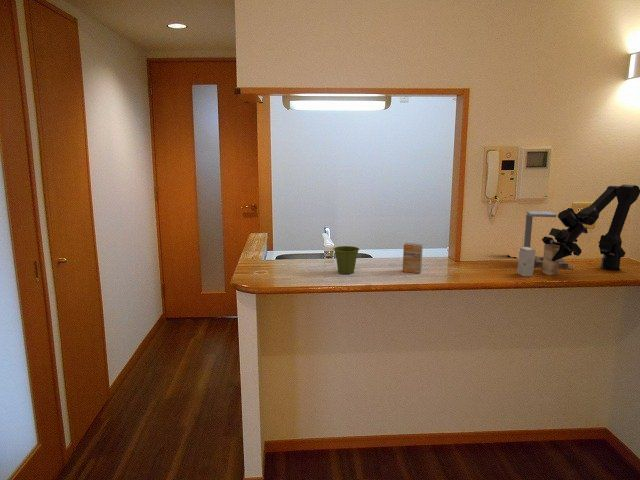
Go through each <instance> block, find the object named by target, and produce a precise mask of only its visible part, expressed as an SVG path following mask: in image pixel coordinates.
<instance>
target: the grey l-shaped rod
mask: <svg viewBox="0 0 640 480" xmlns="http://www.w3.org/2000/svg"><path fill="white" fill-rule="evenodd" d="M525 213H526V214H525V226H524V237H523V238H524V239H523V247H529V248H531V241H532V232H533V231H532V228H533V218H536V217H539V218H540V217H541V218H557V213H554V211H553V212H552V211H549V210H548V211H547V210H546V211H542V210H541V211H540V210H526V212H525Z"/></svg>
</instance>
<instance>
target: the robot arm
mask: <svg viewBox="0 0 640 480" xmlns="http://www.w3.org/2000/svg"><path fill="white" fill-rule="evenodd" d="M639 196H640V186H638V185H635V184H621V185H608V186H607V187H606V189H605V190H604V191H603V192H602V193H601V194H600V195H599V196H598V197H597V198H596V199H595V200H594V201H593V202H592V203H591V204H590V205H589V206H587V207H584V208H582V209H581V210H579V211H578V212H577V213H575V211H574V209H573V208H571V207H568V208H567V209H564V210H562V211H560V212H559V213H558V215H557V218H558V220H560V222H561V223H562V225H563V226H564V227H566V228H567V229H564V228H562V229H559V228H553V227H551V230H550V232H549V233H548V236H543V237H542V238H541V241H542V242H543V243H544V245H545V244H555V245H559V246H560V249H559V251H558V252H557V253H556V255H555V256H554V257H553V259H552V261H556V260H559V259H561V258H563V259H564V258H566V257H569V256H570V257H571V256H572V255H574V256H576V257H580V255H581V254H582V248H581V247H580V246H579V245H578V243H577V242H578V238H579V237H580V235H581V234H588V227H587V226H594V224H595V223H596V221H598V219H599V218H600V213H601V212H602V211H603V210H604V209H605V208H607V206H608V205H609V204H610V203H611V202H612V201H613V200H614V199H615V198H616V199H617V206H616V208H615V211H614V214H613V217H612V220H611V222H610V226H609V228H608V231H607V232H606V233H605V234H604V235H603V234H602V235H600V238H599V240H598V248H599V252H600V254H601V255H602V257H601V263H600V267H601V268H603V269H604V270H608V271H609V270H611V271H613V270H614V271H621V268H620V267H621V266H620V265H621V258H624V257H625V255H626V251H625V250H624V249H623V247H622V244H623V242H622V241H623V240H622V238H621V237H622V236H621V234H622V232H623V229H624V226H625V222H626V219H627V217H628V215H629V214H628V213H629V211H630V208H631V207H632V205H633V204H634V203H635V202H637V200H638V198H639ZM585 225H587V226H585ZM550 236H552V237H550ZM553 237H554V238H553Z"/></svg>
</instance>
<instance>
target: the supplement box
mask: <svg viewBox="0 0 640 480" xmlns="http://www.w3.org/2000/svg"><path fill="white" fill-rule="evenodd" d="M423 247H424V243H411V242H410V243H409V242H404V243H403V252H402V255H403V256H402V272H403V273H413V274H421V272H422V269H423V268H422V267H423V250H424V249H423Z"/></svg>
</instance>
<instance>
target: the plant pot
mask: <svg viewBox="0 0 640 480" xmlns="http://www.w3.org/2000/svg"><path fill="white" fill-rule="evenodd" d="M332 250H333V251H334V254H335V259H336V264H337V265H336V266H337V272H338V273H339V274H341V275H346V274H347V275H352V274H355V268H356V263H357V258H358V257H357V256H358V254H359V251H360V248H359V247H356V246H352V245H350V246H349V245H342V246H341V245H340V246H335V247H333V248H332Z"/></svg>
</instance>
